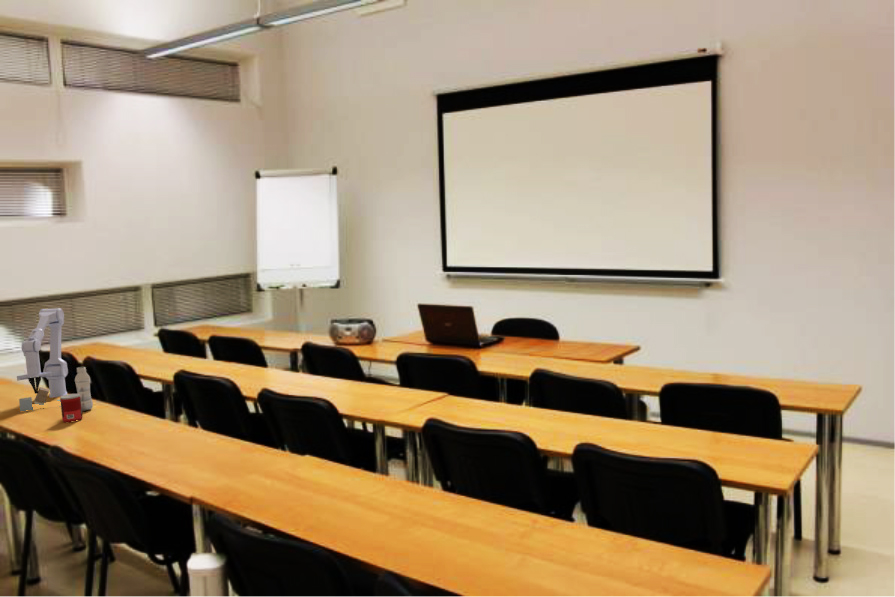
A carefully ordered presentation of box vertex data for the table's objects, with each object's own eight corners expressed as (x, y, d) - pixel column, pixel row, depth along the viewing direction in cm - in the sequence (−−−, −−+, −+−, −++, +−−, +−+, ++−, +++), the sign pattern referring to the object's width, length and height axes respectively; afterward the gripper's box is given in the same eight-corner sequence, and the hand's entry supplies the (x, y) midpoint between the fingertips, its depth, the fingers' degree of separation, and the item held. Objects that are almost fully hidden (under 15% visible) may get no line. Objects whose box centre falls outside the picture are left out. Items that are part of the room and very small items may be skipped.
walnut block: (34, 400, 366) (39, 387, 367) (43, 403, 368) (48, 389, 369) (34, 403, 361) (39, 389, 361) (43, 405, 363) (48, 391, 363)
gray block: (20, 409, 358) (19, 398, 357) (32, 407, 360) (31, 397, 359) (20, 411, 353) (19, 400, 353) (32, 409, 356) (31, 399, 355)
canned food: (86, 418, 335) (83, 394, 334) (69, 423, 328) (66, 398, 327) (76, 417, 339) (73, 392, 338) (59, 421, 332) (56, 397, 331)
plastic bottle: (74, 412, 348) (69, 369, 346) (85, 408, 355) (80, 366, 352) (85, 412, 346) (81, 369, 344) (96, 408, 353) (92, 366, 350)
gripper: (15, 368, 355) (18, 397, 357) (50, 364, 362) (53, 392, 363) (15, 366, 361) (19, 394, 363) (50, 362, 368) (53, 389, 370)
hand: (36, 393), depth 363 cm, fingers closed
